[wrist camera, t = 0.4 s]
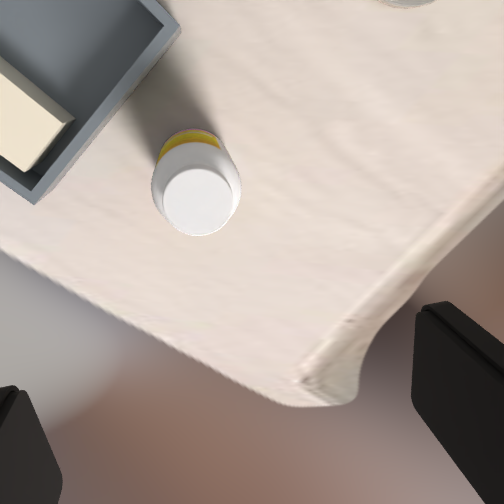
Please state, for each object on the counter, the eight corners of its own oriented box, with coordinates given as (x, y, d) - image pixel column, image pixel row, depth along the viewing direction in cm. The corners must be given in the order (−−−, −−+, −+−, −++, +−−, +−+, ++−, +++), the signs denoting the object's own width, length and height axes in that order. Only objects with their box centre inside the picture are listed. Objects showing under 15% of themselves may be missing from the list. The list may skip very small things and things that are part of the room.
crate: (26, -128, 28) (-4, -167, 24) (181, 32, 33) (180, 25, 29) (-106, 73, 32) (-155, 72, 27) (53, 189, 37) (34, 205, 32)
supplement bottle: (143, 157, 37) (123, 194, 25) (199, 112, 36) (205, 128, 24) (190, 211, 40) (191, 267, 28) (243, 170, 39) (267, 210, 27)
